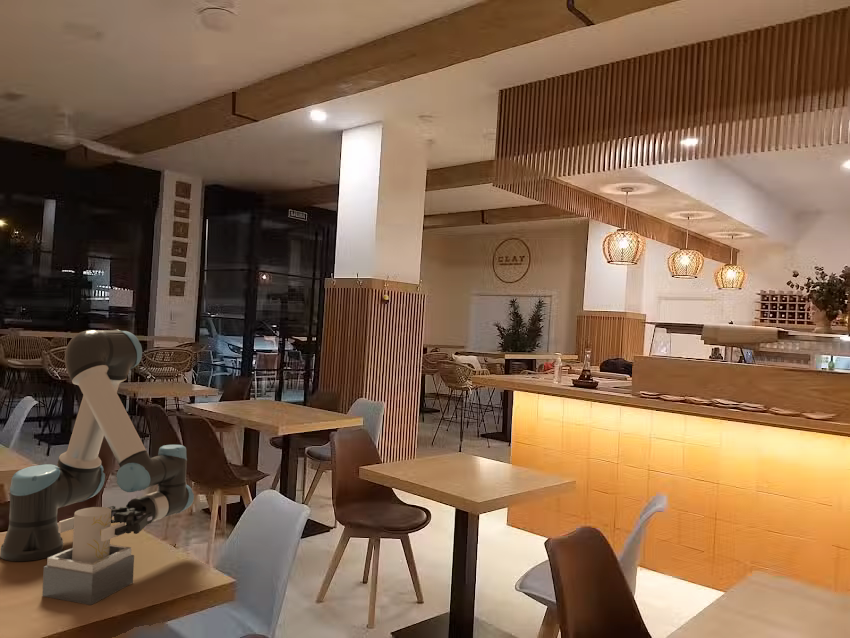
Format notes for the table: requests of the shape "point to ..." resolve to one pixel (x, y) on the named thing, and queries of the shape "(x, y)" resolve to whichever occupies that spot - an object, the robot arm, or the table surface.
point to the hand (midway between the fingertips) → (80, 531)
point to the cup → (90, 534)
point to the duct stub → (87, 576)
